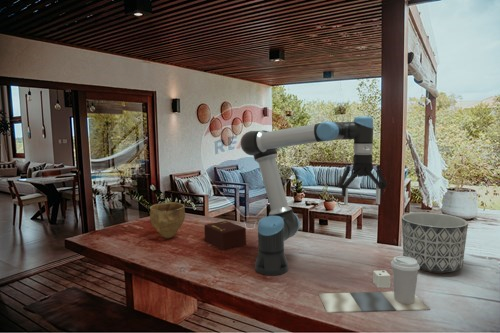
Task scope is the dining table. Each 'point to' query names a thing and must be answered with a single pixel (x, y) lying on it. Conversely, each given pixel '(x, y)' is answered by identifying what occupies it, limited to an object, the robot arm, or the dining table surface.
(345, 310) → the track
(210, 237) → the box
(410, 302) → the coffee cup
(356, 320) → the dining table surface
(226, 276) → the dining table surface
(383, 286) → the die
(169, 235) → the bowl
